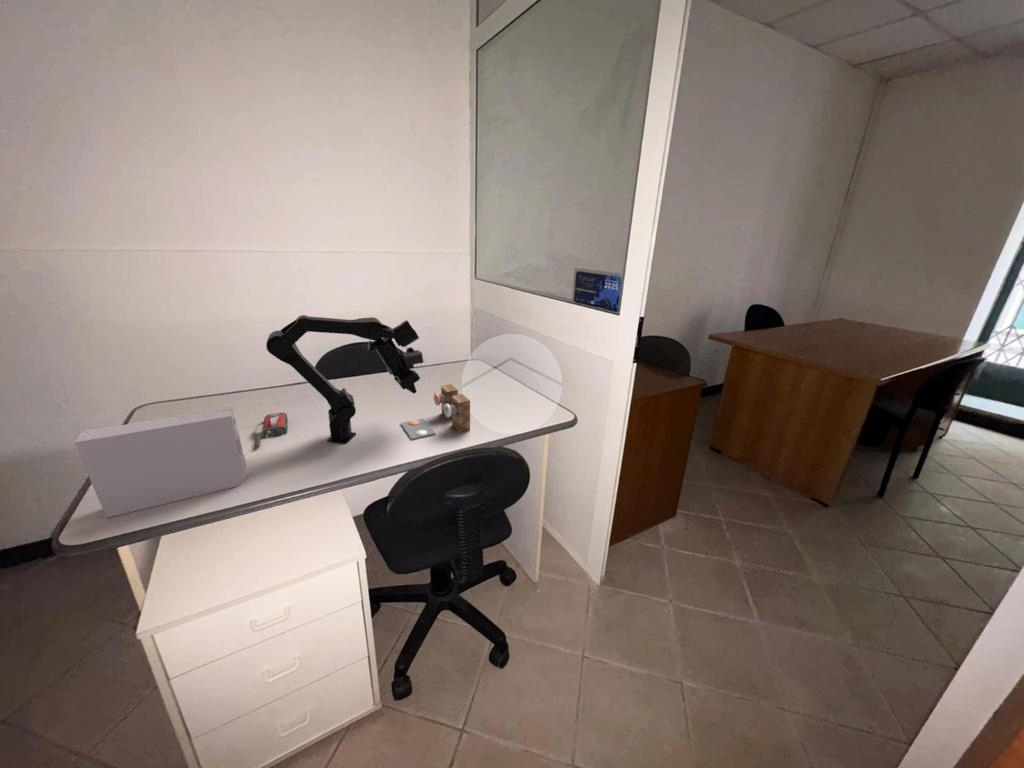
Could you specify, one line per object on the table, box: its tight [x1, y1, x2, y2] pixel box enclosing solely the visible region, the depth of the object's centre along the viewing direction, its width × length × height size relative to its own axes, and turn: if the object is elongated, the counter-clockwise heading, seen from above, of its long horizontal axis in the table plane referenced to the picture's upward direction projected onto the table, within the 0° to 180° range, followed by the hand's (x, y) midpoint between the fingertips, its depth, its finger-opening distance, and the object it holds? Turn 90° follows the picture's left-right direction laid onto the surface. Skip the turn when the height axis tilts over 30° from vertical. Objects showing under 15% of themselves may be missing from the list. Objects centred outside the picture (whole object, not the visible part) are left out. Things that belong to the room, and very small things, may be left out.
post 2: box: [451, 393, 471, 433], centre depth 135 cm, size 4×6×11 cm, turn 31°
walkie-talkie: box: [254, 412, 289, 449], centre depth 127 cm, size 9×4×20 cm
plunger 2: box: [444, 404, 458, 417], centre depth 133 cm, size 7×4×4 cm, turn 121°
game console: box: [74, 406, 247, 519], centre depth 95 cm, size 6×27×20 cm, turn 122°
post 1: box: [440, 383, 459, 421], centre depth 143 cm, size 4×6×11 cm, turn 31°
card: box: [400, 418, 436, 441], centre depth 134 cm, size 8×12×1 cm, turn 31°
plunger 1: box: [433, 392, 446, 406], centre depth 141 cm, size 7×4×4 cm, turn 121°
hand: (415, 392), depth 132 cm, fingers closed
